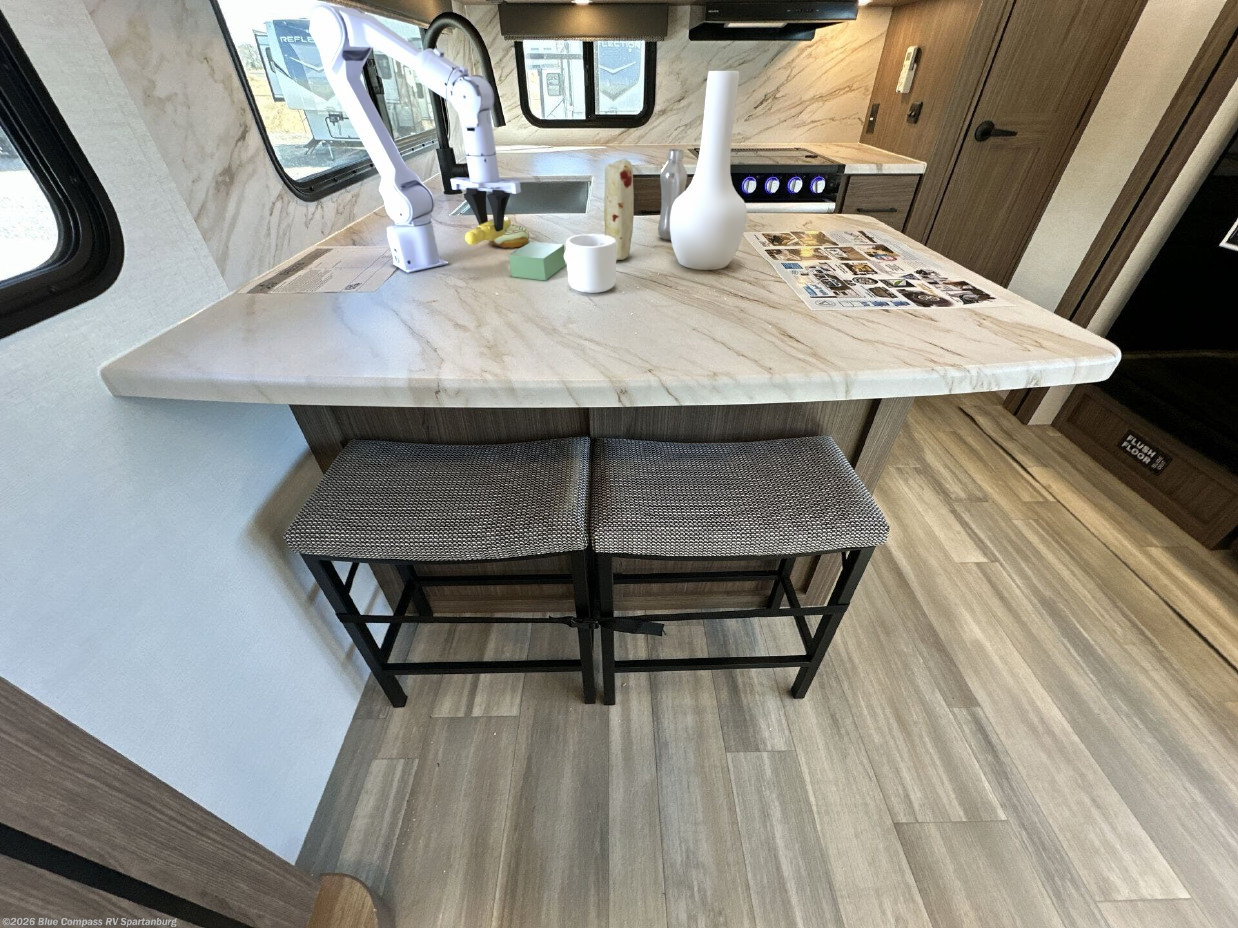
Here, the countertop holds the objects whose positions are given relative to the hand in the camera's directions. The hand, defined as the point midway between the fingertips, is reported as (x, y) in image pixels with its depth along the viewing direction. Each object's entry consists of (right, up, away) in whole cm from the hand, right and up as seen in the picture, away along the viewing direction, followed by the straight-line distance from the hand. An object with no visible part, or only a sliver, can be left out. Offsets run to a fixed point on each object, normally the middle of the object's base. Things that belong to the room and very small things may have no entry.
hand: (491, 229), depth 106 cm
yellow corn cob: (0, -1, +1) cm, 1 cm away
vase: (+46, -3, +11) cm, 48 cm away
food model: (+27, 0, +14) cm, 30 cm away
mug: (+21, -12, -2) cm, 25 cm away
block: (+9, -7, +5) cm, 13 cm away
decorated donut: (-1, +7, +23) cm, 23 cm away
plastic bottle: (+40, +10, +27) cm, 49 cm away
